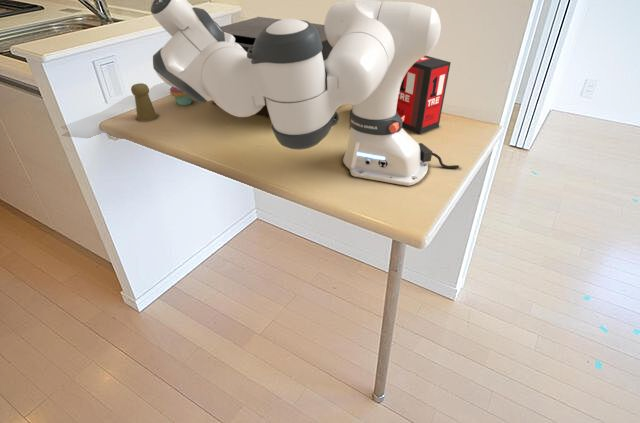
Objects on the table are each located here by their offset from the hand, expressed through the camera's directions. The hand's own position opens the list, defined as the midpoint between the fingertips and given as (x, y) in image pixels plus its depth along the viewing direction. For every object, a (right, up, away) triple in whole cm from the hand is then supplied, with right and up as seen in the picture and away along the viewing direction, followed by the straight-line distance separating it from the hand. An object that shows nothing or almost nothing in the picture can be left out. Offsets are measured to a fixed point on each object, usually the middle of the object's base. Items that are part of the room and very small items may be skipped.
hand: (232, 70), depth 118 cm
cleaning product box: (+55, -13, +13) cm, 58 cm away
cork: (-31, -11, +15) cm, 36 cm away
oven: (+13, -1, +28) cm, 31 cm away
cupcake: (-23, -3, +26) cm, 34 cm away
